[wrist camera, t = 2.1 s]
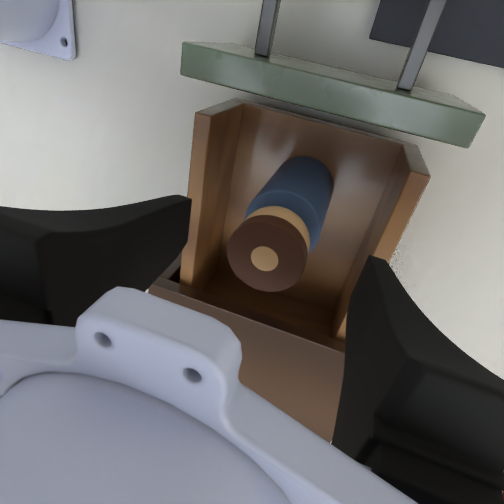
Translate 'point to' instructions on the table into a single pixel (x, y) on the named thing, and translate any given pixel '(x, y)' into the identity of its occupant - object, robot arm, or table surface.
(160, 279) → the cabinet
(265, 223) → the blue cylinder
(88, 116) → the table surface
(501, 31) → the mat
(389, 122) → the drawer
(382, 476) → the robot arm
